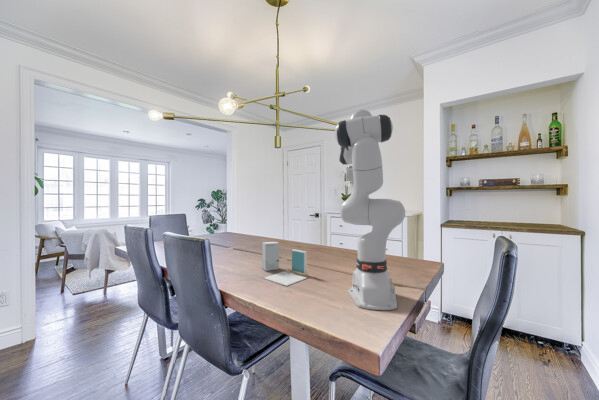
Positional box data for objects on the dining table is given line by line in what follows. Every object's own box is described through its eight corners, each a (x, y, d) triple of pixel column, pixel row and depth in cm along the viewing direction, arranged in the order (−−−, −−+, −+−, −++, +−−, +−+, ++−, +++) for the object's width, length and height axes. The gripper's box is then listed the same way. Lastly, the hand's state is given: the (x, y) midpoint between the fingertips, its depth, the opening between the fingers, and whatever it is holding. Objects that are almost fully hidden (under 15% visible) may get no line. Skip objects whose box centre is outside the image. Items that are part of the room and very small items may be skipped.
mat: (284, 272, 133) (284, 271, 133) (306, 278, 122) (306, 277, 122) (263, 278, 122) (263, 277, 122) (286, 286, 112) (286, 285, 112)
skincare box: (265, 271, 134) (265, 243, 134) (261, 268, 140) (261, 242, 139) (279, 269, 138) (279, 242, 138) (275, 266, 143) (275, 240, 143)
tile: (294, 271, 133) (294, 249, 133) (307, 275, 127) (306, 251, 127) (291, 272, 132) (291, 249, 132) (304, 276, 126) (304, 252, 126)
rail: (287, 271, 133) (287, 268, 133) (307, 277, 124) (307, 274, 124) (285, 272, 132) (285, 269, 132) (305, 277, 123) (305, 274, 123)
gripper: (344, 166, 151) (344, 188, 156) (377, 168, 139) (376, 192, 144) (348, 164, 156) (348, 185, 160) (381, 166, 144) (380, 189, 148)
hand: (361, 189), depth 152 cm, fingers open, 8 cm apart
